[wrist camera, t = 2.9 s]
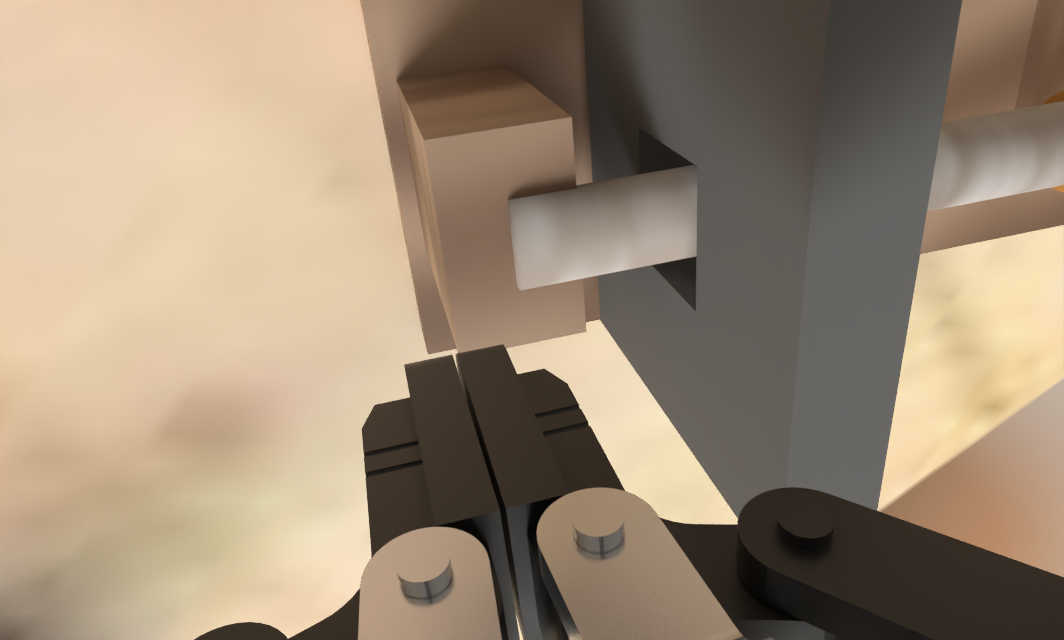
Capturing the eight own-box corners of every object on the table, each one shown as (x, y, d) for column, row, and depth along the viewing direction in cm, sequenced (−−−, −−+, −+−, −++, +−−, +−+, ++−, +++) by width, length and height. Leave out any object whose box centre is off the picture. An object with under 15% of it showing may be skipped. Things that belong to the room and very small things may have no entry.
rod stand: (347, -66, 20) (366, -54, 12) (1120, -152, 24) (1518, -186, 16) (422, 330, 26) (467, 515, 18) (1034, 209, 30) (1294, 316, 22)
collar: (578, -66, 19) (833, -48, 10) (654, -75, 19) (974, -67, 10) (600, 320, 24) (778, 576, 15) (659, 307, 25) (870, 551, 15)
